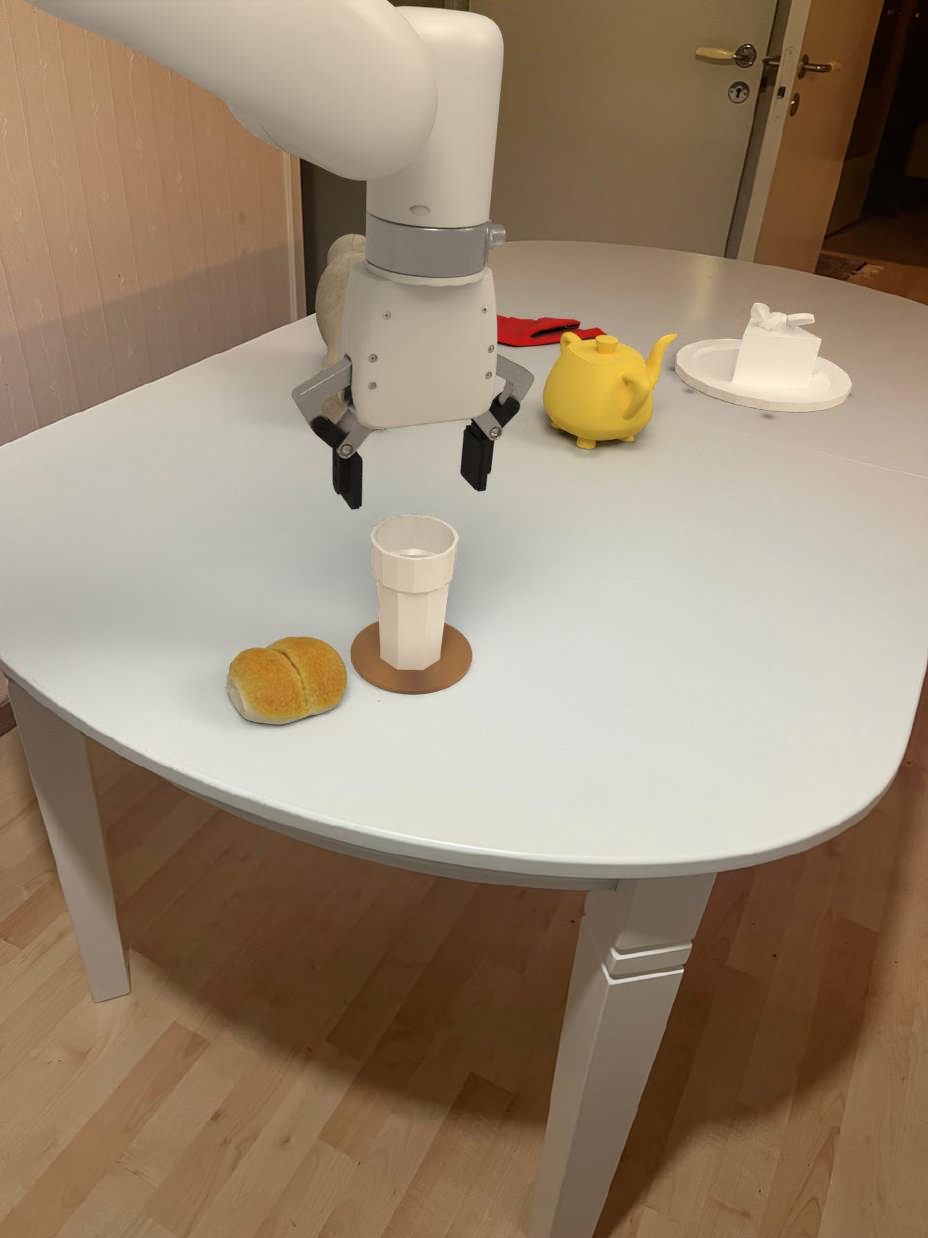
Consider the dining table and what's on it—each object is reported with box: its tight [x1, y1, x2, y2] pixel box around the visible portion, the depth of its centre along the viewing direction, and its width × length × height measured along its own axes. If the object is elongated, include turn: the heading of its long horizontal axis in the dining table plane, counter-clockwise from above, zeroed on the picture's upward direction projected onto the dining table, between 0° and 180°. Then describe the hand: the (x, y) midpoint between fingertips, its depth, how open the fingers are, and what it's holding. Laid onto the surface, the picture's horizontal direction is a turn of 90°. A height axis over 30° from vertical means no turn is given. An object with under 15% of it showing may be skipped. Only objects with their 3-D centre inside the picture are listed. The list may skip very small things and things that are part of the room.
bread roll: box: [225, 636, 348, 725], centre depth 71 cm, size 8×9×4 cm
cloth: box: [497, 314, 609, 347], centre depth 143 cm, size 26×14×2 cm, turn 73°
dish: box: [674, 302, 853, 413], centre depth 131 cm, size 25×25×11 cm
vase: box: [314, 233, 366, 422], centre depth 113 cm, size 22×22×28 cm
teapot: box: [541, 332, 679, 450], centre depth 112 cm, size 14×14×12 cm
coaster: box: [350, 620, 473, 695], centre depth 76 cm, size 10×10×1 cm
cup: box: [369, 513, 460, 670], centre depth 73 cm, size 7×7×11 cm
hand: (412, 491), depth 67 cm, fingers open, 9 cm apart
